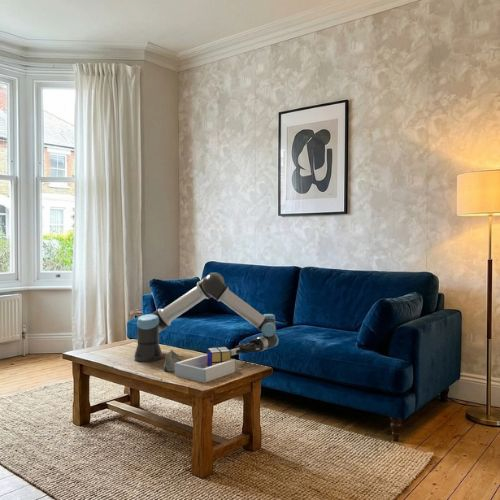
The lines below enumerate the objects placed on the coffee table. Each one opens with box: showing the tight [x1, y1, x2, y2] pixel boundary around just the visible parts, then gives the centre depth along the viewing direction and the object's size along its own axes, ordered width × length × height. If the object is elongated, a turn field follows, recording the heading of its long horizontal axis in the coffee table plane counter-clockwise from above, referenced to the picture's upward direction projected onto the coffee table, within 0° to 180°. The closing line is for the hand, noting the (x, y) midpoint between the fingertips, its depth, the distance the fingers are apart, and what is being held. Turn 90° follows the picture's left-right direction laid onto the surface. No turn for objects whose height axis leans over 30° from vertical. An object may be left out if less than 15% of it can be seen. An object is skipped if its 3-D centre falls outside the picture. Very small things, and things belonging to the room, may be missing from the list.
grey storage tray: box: [174, 353, 236, 383], centre depth 239 cm, size 22×20×6 cm
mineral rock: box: [162, 349, 180, 373], centre depth 249 cm, size 13×11×10 cm
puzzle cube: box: [206, 346, 232, 368], centre depth 247 cm, size 10×10×10 cm
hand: (230, 352), depth 254 cm, fingers closed
